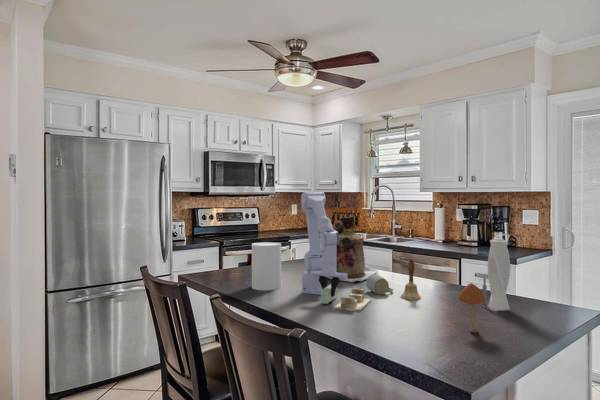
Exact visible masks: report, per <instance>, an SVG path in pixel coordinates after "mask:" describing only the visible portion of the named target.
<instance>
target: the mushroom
mask: <svg viewBox="0 0 600 400" xmlns="http://www.w3.org/2000/svg"><path fill="white" fill-rule="evenodd" d="M457 299H458V300H459V301H460V302H461V303H465V304H468V305H467V306H468V315H469V316H468V329H469V332H470V333H478V332H479V322H478V316H477V307H476V306H477V305H480V304H482V303H484V302H485V301H486V299H485V296H484V294H483V290H481V289H480V288H479V287H478V286H477V285H475V284H474V283H472V282H470V283H469V284H467V285H465V286H464V288H463V289H462V290H461V291H460V293H459V295H458V298H457Z"/></svg>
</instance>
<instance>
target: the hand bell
mask: <svg viewBox="0 0 600 400" xmlns="http://www.w3.org/2000/svg"><path fill="white" fill-rule="evenodd" d="M414 261H415V260H414V259H413V258H409V261H408V265H407V269H408V270H407V271H408V273H409V274H408V277H409V278H408V282H407V283H405V286H404V290H403V293H402V294H400V298H401V299H404V300H408V301H417V300H422V296H421V295H420V294H419V292H418V287H417V284H416V283H414V273H415V267H416V266H415V262H414Z"/></svg>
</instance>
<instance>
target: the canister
mask: <svg viewBox="0 0 600 400" xmlns="http://www.w3.org/2000/svg"><path fill="white" fill-rule="evenodd" d="M281 288H282V243H281V242H273V241H270V242H269V241H263V242H262V241H261V242H254V243H253V242H252V243H251V289H253V290H255V291H256V290H257V291H268V292H269V291H275V290H279V289H281Z"/></svg>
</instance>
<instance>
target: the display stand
mask: <svg viewBox="0 0 600 400" xmlns="http://www.w3.org/2000/svg"><path fill="white" fill-rule="evenodd" d="M371 300H372V298H371V299H370V298H365V289H362V288H355V287H354V288H353V287H352V288H351V292H350V293H349V294H348V296H340V302H338V303H337V304H336V305H334V306H333V309H334V310H341V311H348V310H349V311H348V312H357V311H358V312H360V313H361V312H362V311H363V310H364V309H365V308H366V307H367V306H368V305H369V304H370V303H371V302H372V301H371ZM367 304H368V305H367ZM366 305H367V306H366ZM365 306H366V307H365Z"/></svg>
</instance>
